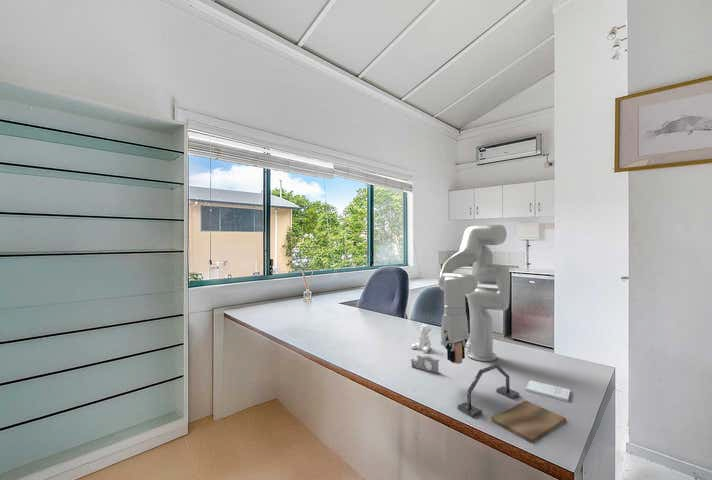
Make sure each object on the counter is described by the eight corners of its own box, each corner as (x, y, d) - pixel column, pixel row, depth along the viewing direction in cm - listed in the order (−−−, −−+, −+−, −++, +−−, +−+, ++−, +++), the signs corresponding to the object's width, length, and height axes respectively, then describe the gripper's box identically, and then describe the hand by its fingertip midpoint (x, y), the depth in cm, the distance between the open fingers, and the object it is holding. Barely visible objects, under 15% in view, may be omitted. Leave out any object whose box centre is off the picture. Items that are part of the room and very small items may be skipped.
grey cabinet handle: (457, 408, 100) (456, 372, 100) (503, 388, 112) (502, 356, 112) (473, 417, 95) (472, 379, 95) (519, 395, 107) (518, 361, 107)
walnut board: (491, 420, 93) (491, 417, 93) (525, 403, 102) (525, 400, 102) (531, 443, 83) (531, 439, 83) (566, 421, 92) (566, 417, 92)
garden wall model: (410, 366, 133) (410, 352, 133) (412, 365, 135) (412, 351, 135) (438, 373, 126) (437, 358, 126) (439, 371, 128) (439, 357, 128)
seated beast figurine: (410, 348, 155) (409, 324, 155) (420, 344, 161) (420, 321, 161) (426, 353, 148) (425, 328, 148) (436, 349, 154) (436, 324, 154)
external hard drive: (530, 384, 117) (570, 393, 109) (525, 392, 111) (568, 403, 103) (530, 379, 117) (570, 389, 109) (525, 388, 111) (568, 398, 103)
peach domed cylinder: (447, 360, 117) (446, 341, 117) (455, 357, 119) (455, 339, 119) (456, 364, 113) (456, 345, 113) (465, 361, 115) (464, 342, 115)
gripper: (462, 304, 123) (463, 351, 124) (430, 311, 114) (432, 361, 115) (478, 308, 117) (479, 357, 117) (446, 316, 108) (448, 368, 108)
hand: (456, 358), depth 116 cm, fingers closed on peach domed cylinder, 4 cm apart
